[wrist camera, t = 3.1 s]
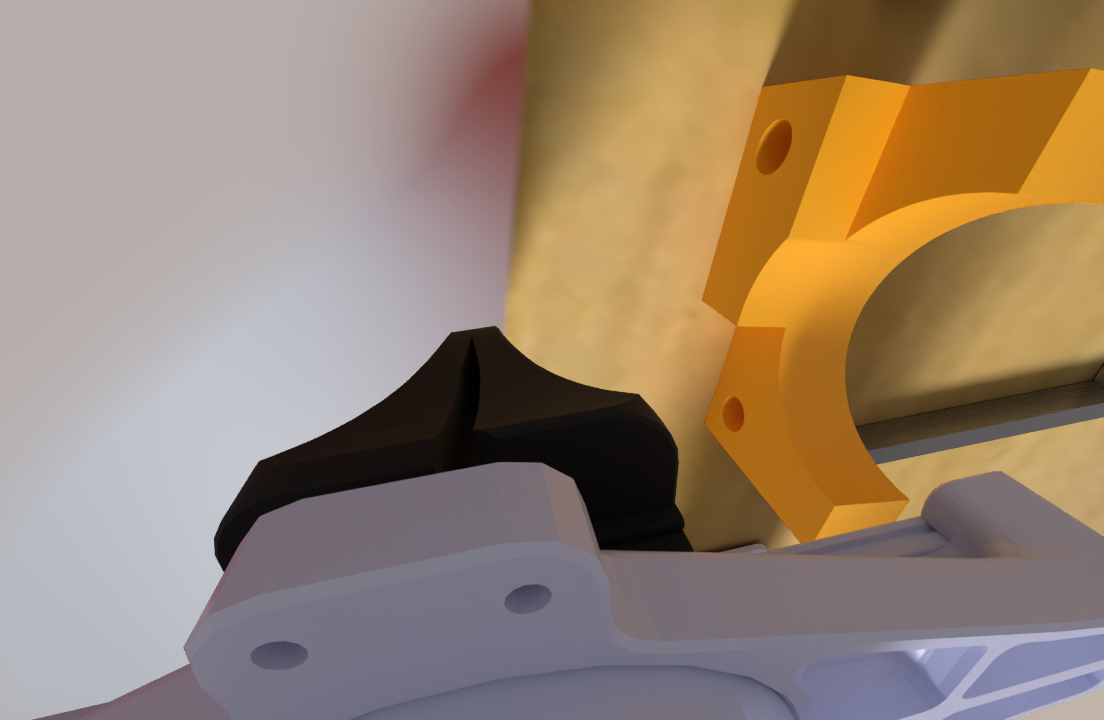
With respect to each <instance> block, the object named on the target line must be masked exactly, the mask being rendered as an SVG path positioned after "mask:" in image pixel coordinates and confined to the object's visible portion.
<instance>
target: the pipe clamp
mask: <svg viewBox="0 0 1104 720" xmlns="http://www.w3.org/2000/svg"><path fill="white" fill-rule="evenodd" d="M1056 203H1095V204H1104V71H1102V70H1097V69H1092V68H1088V69H1078V70H1068V71H1058V72H1047V73H1037V74H1027V75H1016V76H1006V77H996V78H985V79H975V80H965V81H954V82H944V83H934V84H923V85H913V86H909V85H903V84H897V83H891V82H885V81H879V80H874V79H868V78H862V77H856V76H850V75H843V76H836V77H829V78H822V79H815V80H808V81H801V82H794V83H787V84H780V85H773V86H766V87H762V90H761V94H760V97H759V101H758V104H757V108H756V111H755V115H754V118H753V122H752V125H751V129H750V132H749V136H748V139H747V143H746V146H745V150H744V153H743V157H742V160H741V164H740V167H739V171H738V175H737V178H736V182H735V185H734V189H733V192H732V196H731V199H730V203H729V206H728V210H727V213H726V217H725V220H724V224H723V227H722V231H721V234H720V238H719V241H718V245H717V249H716V252H715V256H714V259H713V263H712V266H711V270H710V273H709V277H708V280H707V284H706V287H705V291H704V294H703V298H702V301H703V302H705V303H706V304H707V305H709V306H710V307H711V308H713V309H714V310H716V311H717V312H718V313H720V314H721V315H722V316H724V317H725V318H727V319H728V320H729V321H731V322H732V323H733V324H735V325H736V326H737V327H736V330H735V333H734V336H733V339H732V342H731V345H730V348H729V351H728V354H727V357H726V360H725V363H724V366H723V369H722V372H721V375H720V378H719V381H718V384H717V387H716V390H715V393H714V396H713V399H712V402H711V404H710V407H709V410H708V413H707V416H706V419H705V422H704V424H705V425H706V426H707V428H708V429H709V430H710V431H711V433H712V434H713V435H714V436H715V438H716V439H717V440H718V441H719V443H720V444H721V445H722V446H723V447H724V449H725V450H726V451H727V452H728V454H729V455H730V456H731V457H732V459H733V460H734V461H735V462H736V464H737V465H738V466H739V467H740V469H741V470H742V471H743V472H744V474H745V475H746V476H747V477H748V479H749V480H750V481H751V482H752V484H753V485H754V486H755V487H756V489H757V490H758V491H759V492H760V494H761V495H762V496H763V497H764V498H765V500H766V501H767V502H768V503H769V505H770V506H771V507H772V508H773V510H774V511H775V512H776V513H777V515H778V516H779V517H780V518H781V520H782V521H783V522H784V523H785V525H786V526H787V527H788V528H789V530H790V531H791V532H792V533H793V535H794V536H795V537H796V538H797V540H798V541H799V542H800V543H805V542H809V541H814V540H818V539H822V538H827V537H831V536H835V535H840V534H844V533H849V532H853V531H857V530H862V529H866V528H870V527H875V526H879V525H883V524H888V523H892V522H895V521H896V519H897V518H898V516H899V515H900V514H901V512H902V511H903V509H904V508H905V506H906V505H907V504H908V502H909V501H910V500H909V499H908V498H907V497H906V496H905V495H904V494H903V493H902V492H901V491H899V490H898V489H897V488H896V487H895V486H894V485H893V483H892V482H891V481H890V480H889V479H888V478H887V477H886V476H885V475H884V473H883V472H882V471H881V470H880V468H879V467H878V466H877V465H876V463H875V462H874V460H873V459H872V457H871V456H870V454H869V453H868V451H867V450H866V448H865V446H864V444H863V442H862V440H861V439H860V436H859V434H858V432H857V429H856V427H855V425H854V422H853V419H852V416H851V413H850V409H849V404H848V400H847V393H846V383H845V367H846V357H847V350H848V345H849V342H850V338H851V334H852V331H853V329H854V326H855V323H856V321H857V319H858V317H859V315H860V313H861V310H862V309H863V307H864V305H865V304H866V302H867V300H868V299H869V297H870V296H871V294H872V293H873V292H874V290H875V289H876V287H877V286H878V285H879V284H880V283H881V281H882V280H883V279H884V278H885V277H886V276H887V275H888V274H889V273H890V272H891V271H892V270H893V269H894V268H895V267H896V266H897V265H898V264H899V263H900V262H901V261H903V260H904V259H905V258H906V257H908V256H909V255H910V254H911V253H913V252H914V251H916V250H917V249H919V248H920V247H922V246H923V245H925V244H926V243H928V242H929V241H931V240H933V239H934V238H936V237H938V236H940V235H942V234H944V233H945V232H947V231H950V230H952V229H954V228H956V227H959V226H961V225H963V224H965V223H968V222H971V221H974V220H977V219H979V218H982V217H985V216H989V215H992V214H996V213H1000V212H1004V211H1007V210H1012V209H1018V208H1023V207H1029V206H1036V205H1046V204H1056Z"/></svg>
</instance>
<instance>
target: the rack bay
mask: <svg viewBox="0 0 1104 720" xmlns="http://www.w3.org/2000/svg"><path fill="white" fill-rule="evenodd" d="M1101 417H1104V366H1103V367H1102V369H1101V370H1100V371H1099V373H1098V374H1097V376H1096V377H1095V379H1094V380H1093V381H1088V382H1083V383H1077V384H1072V385H1067V386H1062V387H1057V388H1052V389H1047V390H1042V391H1037V392H1032V393H1026V394H1021V395H1016V396H1011V397H1006V398H1001V399H996V400H991V401H986V402H981V403H975V404H970V405H965V406H960V407H955V408H950V409H945V410H940V411H935V412H930V413H924V414H919V415H914V416H909V417H904V418H899V419H894V420H889V421H884V422H879V423H873V424H868V425H863V426H858V427H856V429H857V432H858V434H859V436H860V439H861V440H862V442H863V444H864V446H865V448H866V450H867V451H868V453H869V454H870V456H871V457H872V459H873V460H874V462H875V463H876V464H881V463H886V462H891V461H896V460H900V459H905V458H910V457H915V456H920V455H924V454H929V453H934V452H939V451H943V450H948V449H953V448H958V447H963V446H967V445H972V444H977V443H982V442H986V441H991V440H996V439H1001V438H1006V437H1010V436H1015V435H1020V434H1025V433H1030V432H1034V431H1039V430H1044V429H1049V428H1053V427H1058V426H1063V425H1068V424H1073V423H1077V422H1082V421H1087V420H1092V419H1097V418H1101Z"/></svg>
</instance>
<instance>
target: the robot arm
mask: <svg viewBox="0 0 1104 720" xmlns="http://www.w3.org/2000/svg"><path fill="white" fill-rule="evenodd" d="M678 465H679V461H678V448H677V446H676V444H675V442H674V440H673V437H672V435H671V434H670V432H669V431H668V429H667V428H666V426H665V425H664V423H663V422H662V420H661V419H660V418H659V417H658V415H657V414H656V413H655V412H654V410H653V409H652V408H651V407H650V406H649V405H648V404H647V403H646V402H645V401H644V400H643V398H642V397H641V396H640V395H639V394H634V393H626V392H618V391H610V390H604V389H599V388H595V387H591V386H587V385H583V384H580V383H576V382H573V381H571V380H568V379H565V378H563V377H560V376H558V375H556V374H553V373H551V372H549V371H548V370H546V369H544V368H542V367H540V366H538V365H537V364H535V363H534V362H532V361H531V360H530V359H528V358H527V357H526V356H524V355H523V354H522V353H521V352H520V351H519V350H518V349H516V348H515V347H514V346H513V345H512V344H511V343H510V342H509V341H508V340H507V339H506V337H505V336H504V335H503V334H502V332H501V331H500V329H499V328H497V327H496V326H491V327H485V328H479V329H472V330H465V331H459V332H451V333H450V335H449V336H448V337H447V338H446V339H445V341H444V342H443V343H442V344H441V346H440V347H439V348H438V349H437V350H436V352H435V353H434V354H433V355H432V356H431V357H430V359H429V360H428V361H427V362H426V363H425V364H424V365H423V366H422V367H421V368H420V369H419V370H418V371H417V372H416V373H415V374H414V375H413V376H412V377H411V378H410V379H409V380H408V381H407V382H406V383H404V384H403V385H402V386H401V387H400V388H398V389H397V390H396V391H395V392H393V393H392V394H391V395H389V396H388V397H387V398H386V399H384V400H383V401H382V402H380V403H378V404H377V405H375V406H373V407H372V408H370V409H369V410H367V411H366V412H364V413H363V414H361V415H359V416H358V417H356V418H354V419H353V420H351V421H349V422H347V423H345V424H344V425H341V426H340V427H338V428H336V429H334V430H332V431H330V432H328V433H326V434H324V435H322V436H320V437H318V438H315V439H313V440H311V441H308V442H306V443H304V444H301V445H299V446H296V447H294V448H292V449H289V450H286V451H284V452H281V453H279V454H276V455H274V456H272V457H269V458H267V459H263V460H261V461H259V462H258V464H257V465H256V466H255V468H254V470H253V471H252V473H251V475H250V476H249V478H248V479H247V481H246V482H245V484H244V486H243V487H242V489H241V491H240V492H239V494H238V495H237V497H236V498H235V500H234V502H233V503H232V505H231V506H230V508H229V510H228V511H227V513H226V514H225V516H224V518H223V519H222V521H221V523H220V525H219V527H218V530H217V532H216V535H215V537H214V547H215V556H216V558H217V560H218V562H219V564H220V566H221V568H222V570H223V571H224V574H223V576H222V578H221V580H220V581H219V583H218V585H217V587H216V589H215V590H214V592H213V594H212V596H211V598H210V600H209V601H208V603H207V605H206V607H205V609H204V611H203V613H202V615H201V616H200V618H199V620H198V622H197V624H196V626H195V627H194V629H193V631H192V633H191V635H190V637H189V638H188V640H187V642H186V644H185V645H184V650H185V652H186V655H187V657H188V660H189V663H190V664H188V665H186V666H184V667H182V668H180V669H178V670H175V671H173V672H171V673H169V674H167V675H165V676H163V677H161V678H159V679H156V680H154V681H152V682H150V683H148V684H146V685H144V686H142V687H140V688H138V689H135V690H133V691H131V692H129V693H127V694H125V695H123V696H121V697H119V698H117V699H114V700H113V701H110V702H107V703H103V704H99V705H94V706H90V707H86V708H81V709H77V710H73V711H68V712H64V713H60V714H55V715H51V716H47V717H43V718H38V719H33V720H1013V719H1015V718H1018V717H1021V716H1024V715H1027V714H1030V713H1032V712H1035V711H1038V710H1041V709H1044V708H1047V707H1050V706H1053V705H1056V704H1059V703H1063V702H1065V701H1069V700H1072V699H1075V698H1078V697H1081V696H1084V695H1088V694H1091V693H1094V692H1096V691H1097V690H1099V689H1100V688H1101V687H1103V686H1104V537H1103V536H1102V535H1100V534H1099V533H1097V532H1096V531H1094V530H1092V529H1091V528H1089V527H1088V526H1086V525H1085V524H1083V523H1082V522H1080V521H1078V520H1077V519H1075V518H1074V517H1072V516H1071V515H1069V514H1067V513H1066V512H1064V511H1063V510H1061V509H1060V508H1058V507H1057V506H1055V505H1053V504H1052V503H1050V502H1049V501H1047V500H1046V499H1044V498H1042V497H1041V496H1039V495H1038V494H1036V493H1035V492H1033V491H1032V490H1030V489H1028V488H1027V487H1025V486H1024V485H1022V484H1021V483H1019V482H1017V481H1016V480H1014V479H1013V478H1011V477H1010V476H1008V475H1007V474H1005V473H1003V472H1002V471H993V472H989V473H984V474H980V475H975V476H971V477H966V478H962V479H957V480H953V481H949V482H946V483H944V484H941V485H940V486H938V487H937V488H936V489H934V490H933V491H932V492H931V493H930V495H929V496H928V497H927V499H926V501H925V503H924V505H923V508H922V511H921V516H918V517H914V518H910V519H905V520H901V521H897V522H892V523H888V524H883V525H879V526H875V527H870V528H866V529H862V530H857V531H853V532H849V533H844V534H840V535H835V536H831V537H827V538H822V539H818V540H814V541H809V542H805V543H801V544H796V545H792V546H788V547H783V548H779V549H774V550H770V551H768V550H767V549H766V547H765V546H764V545H763V544H760V543H759V544H753V545H749V546H745V547H740V548H736V549H731V550H727V551H722V552H718V553H713V552H694V550H693V548H692V546H691V544H690V543H689V541H688V539H687V537H686V535H685V533H684V531H683V530H682V529H684V524H685V523H684V519H683V517H682V515H681V513H680V511H679V509H678V508H677V506H676V504H675V497H676V486H677V475H678Z"/></svg>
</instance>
